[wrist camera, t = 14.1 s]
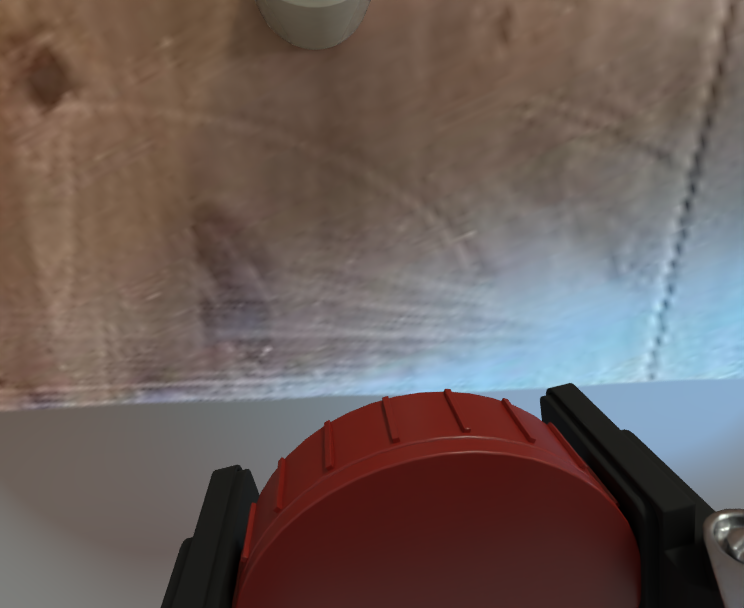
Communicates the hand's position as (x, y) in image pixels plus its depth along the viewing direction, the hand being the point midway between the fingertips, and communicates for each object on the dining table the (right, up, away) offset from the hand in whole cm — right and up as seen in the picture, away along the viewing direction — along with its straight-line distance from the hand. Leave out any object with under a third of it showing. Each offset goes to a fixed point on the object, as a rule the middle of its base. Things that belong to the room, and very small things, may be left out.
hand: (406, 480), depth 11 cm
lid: (0, -1, -3) cm, 3 cm away
